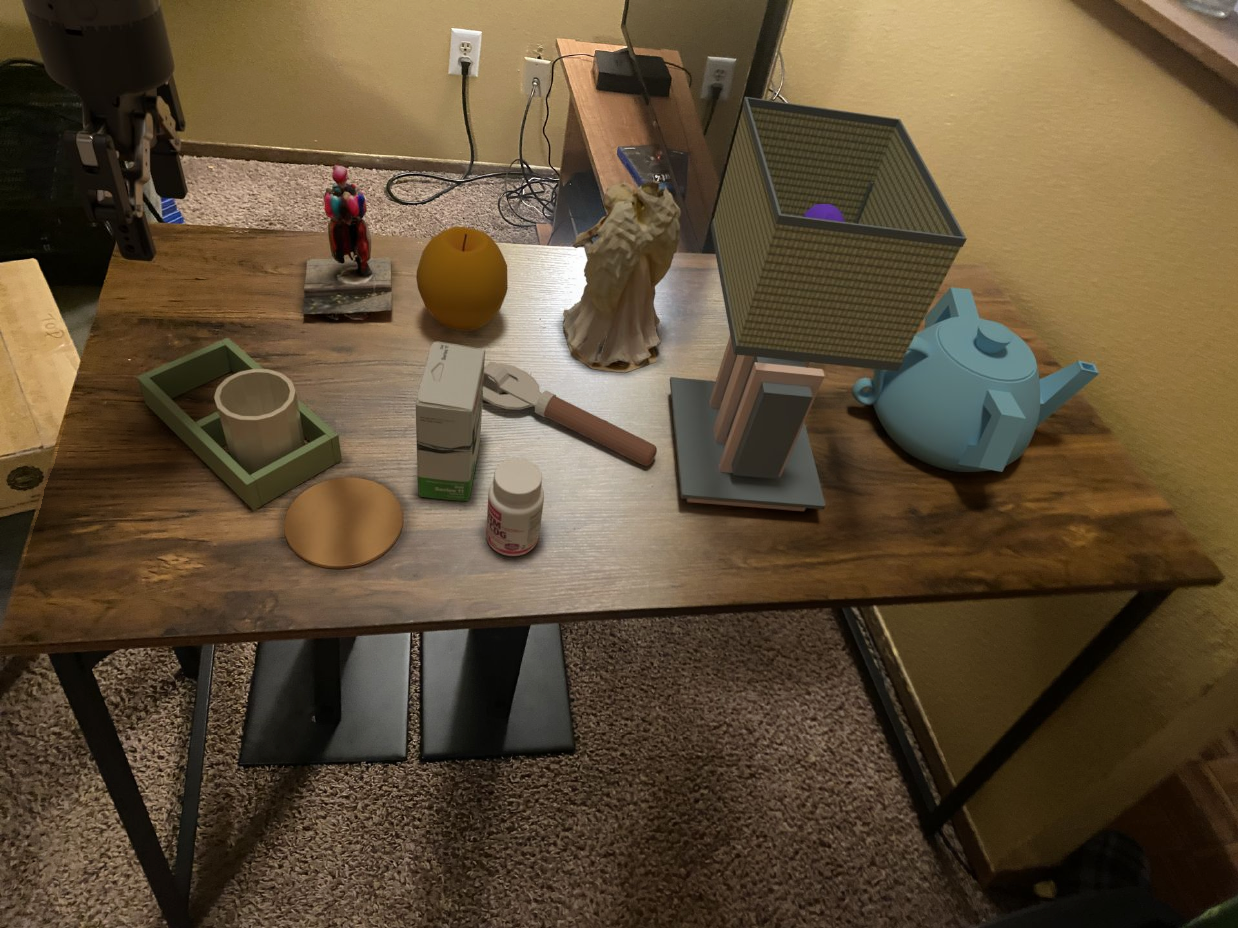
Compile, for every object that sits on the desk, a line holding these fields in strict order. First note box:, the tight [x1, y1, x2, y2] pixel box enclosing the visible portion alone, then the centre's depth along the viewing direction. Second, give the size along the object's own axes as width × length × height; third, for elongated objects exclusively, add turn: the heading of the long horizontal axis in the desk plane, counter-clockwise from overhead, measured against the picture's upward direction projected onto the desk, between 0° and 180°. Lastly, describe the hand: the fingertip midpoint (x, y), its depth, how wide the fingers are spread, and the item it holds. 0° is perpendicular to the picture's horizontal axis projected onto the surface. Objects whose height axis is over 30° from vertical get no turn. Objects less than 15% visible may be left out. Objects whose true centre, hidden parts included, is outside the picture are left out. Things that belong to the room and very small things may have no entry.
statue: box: [301, 164, 393, 321], centre depth 91 cm, size 11×9×15 cm
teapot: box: [851, 286, 1100, 473], centre depth 91 cm, size 19×19×14 cm
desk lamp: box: [669, 96, 968, 512], centre depth 75 cm, size 18×14×33 cm
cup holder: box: [136, 337, 343, 511], centre depth 78 cm, size 18×9×4 cm, turn 49°
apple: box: [415, 226, 509, 331], centre depth 90 cm, size 10×10×12 cm
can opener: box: [482, 361, 658, 467], centre depth 86 cm, size 20×6×3 cm, turn 68°
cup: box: [213, 368, 306, 475], centre depth 75 cm, size 6×6×8 cm
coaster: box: [283, 476, 404, 570], centre depth 74 cm, size 10×10×1 cm
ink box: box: [415, 341, 486, 502], centre depth 76 cm, size 9×5×12 cm, turn 179°
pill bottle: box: [485, 457, 545, 557], centre depth 72 cm, size 5×5×8 cm
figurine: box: [562, 180, 682, 374], centre depth 90 cm, size 12×12×20 cm
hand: (157, 226), depth 64 cm, fingers open, 8 cm apart
